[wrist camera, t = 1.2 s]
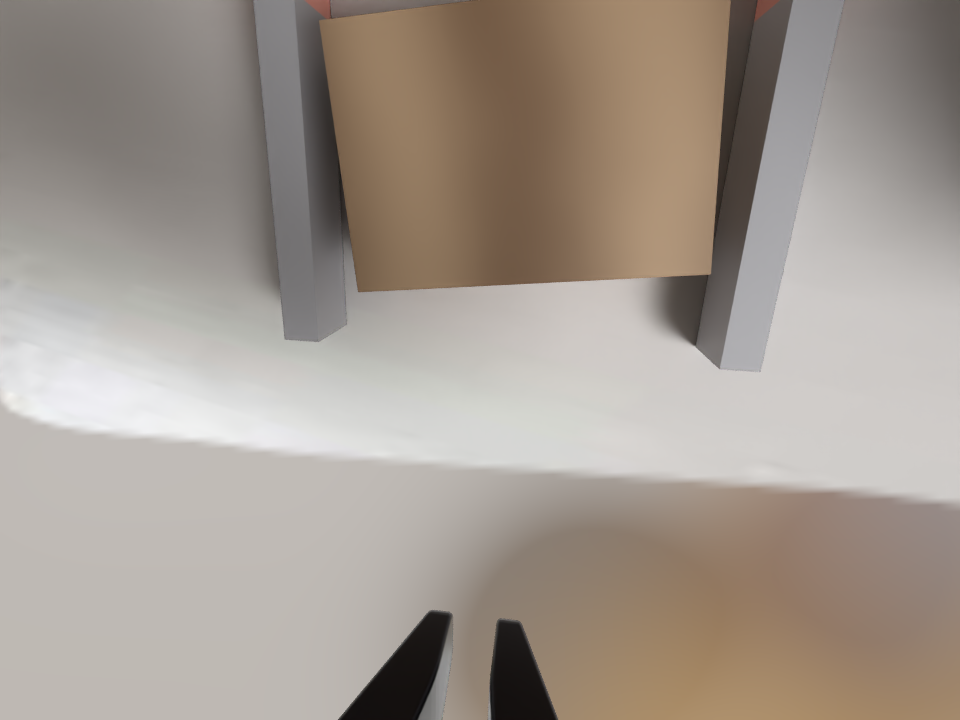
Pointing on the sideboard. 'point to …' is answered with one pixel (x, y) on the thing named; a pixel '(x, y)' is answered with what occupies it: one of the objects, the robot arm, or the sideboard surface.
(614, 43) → the tan block
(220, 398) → the sideboard surface
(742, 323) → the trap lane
